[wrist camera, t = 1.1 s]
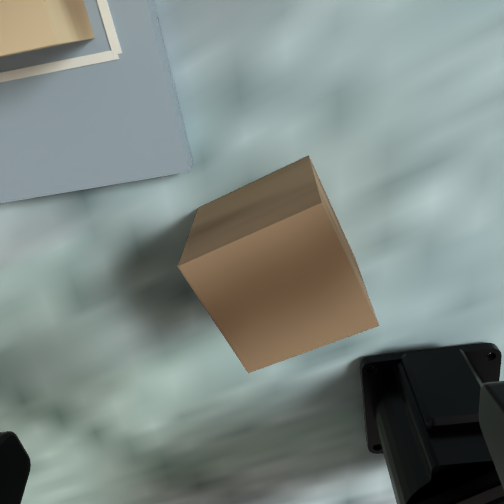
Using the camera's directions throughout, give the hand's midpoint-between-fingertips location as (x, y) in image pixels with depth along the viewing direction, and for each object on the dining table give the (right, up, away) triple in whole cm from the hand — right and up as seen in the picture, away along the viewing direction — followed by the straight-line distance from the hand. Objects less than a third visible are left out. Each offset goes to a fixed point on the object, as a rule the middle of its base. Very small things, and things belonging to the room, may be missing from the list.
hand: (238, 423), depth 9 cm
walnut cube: (+1, +4, +11) cm, 12 cm away
